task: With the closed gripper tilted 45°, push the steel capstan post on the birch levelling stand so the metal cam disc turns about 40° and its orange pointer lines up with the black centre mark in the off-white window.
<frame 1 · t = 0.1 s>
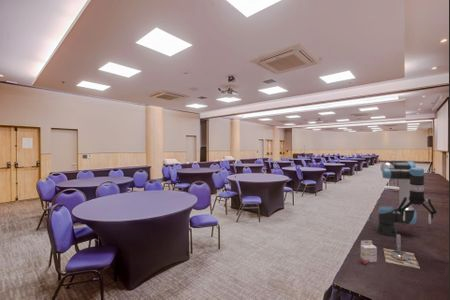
hand: (416, 221, 156), 28 cm above the table, tool pointing down, fingers open, 13 cm apart
cam capstan: (400, 247, 161), point 9 cm above the table, hinge at 0.0°
level stand: (400, 259, 161), on the table
ink cartridge box: (368, 262, 159), on the table
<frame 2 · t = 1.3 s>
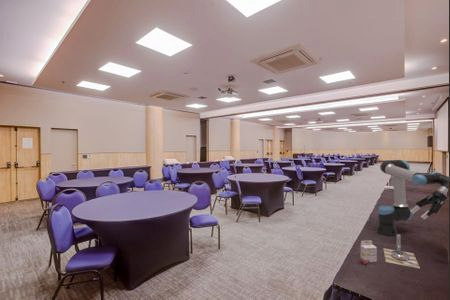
hand: (417, 215, 165), 29 cm above the table, tool tilted 45°, fingers open, 12 cm apart
nothing on the table moved.
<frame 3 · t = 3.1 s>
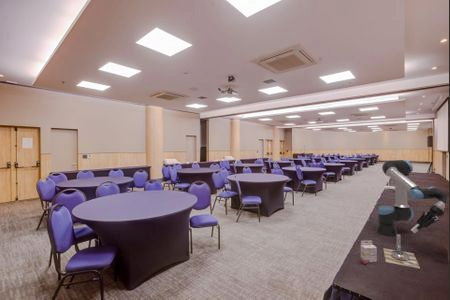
hand: (412, 231, 164), 18 cm above the table, tool tilted 45°, fingers closed
nothing on the table moved.
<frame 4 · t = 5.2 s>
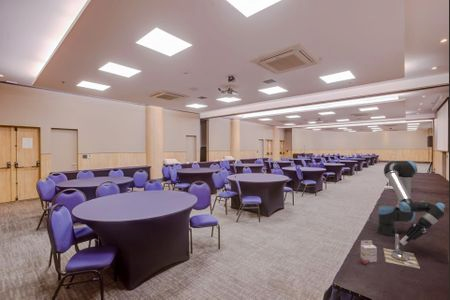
hand: (401, 243, 166), 9 cm above the table, tool tilted 45°, fingers closed
cam capstan: (400, 247, 161), point 9 cm above the table, hinge at 6.7°, touching gripper
everything else where it was.
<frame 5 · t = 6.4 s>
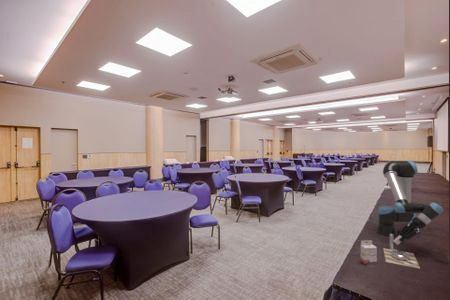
hand: (395, 242, 167), 9 cm above the table, tool tilted 45°, fingers closed, pressing on cam capstan
cam capstan: (400, 247, 161), point 9 cm above the table, hinge at 37.7°, touching gripper
everything else where it was.
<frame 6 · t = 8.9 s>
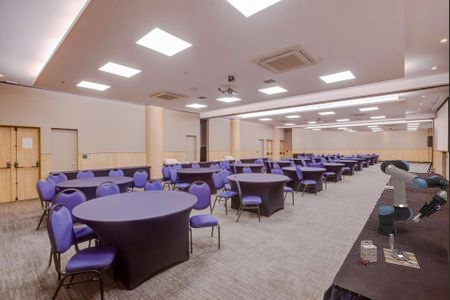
hand: (414, 220, 166), 25 cm above the table, tool tilted 45°, fingers closed
cam capstan: (400, 247, 161), point 9 cm above the table, hinge at 37.8°
everything else where it was.
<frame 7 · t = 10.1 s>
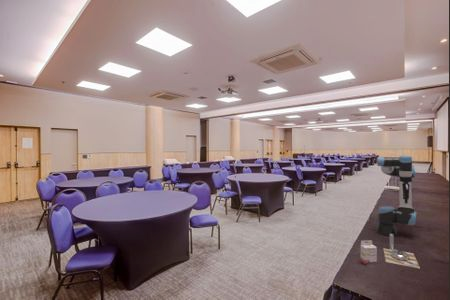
hand: (405, 207, 174), 32 cm above the table, tool pointing down, fingers closed
nothing on the table moved.
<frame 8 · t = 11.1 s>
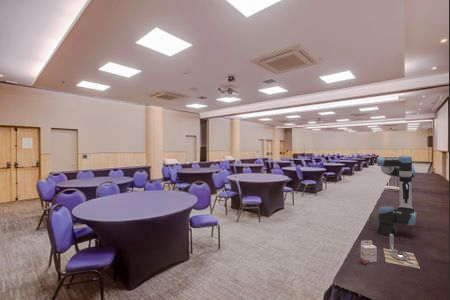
hand: (405, 207, 174), 32 cm above the table, tool pointing down, fingers closed
nothing on the table moved.
at the end: cam capstan at +38° (first picture: +0°); ink cartridge box moved 0.3 cm from its start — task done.
